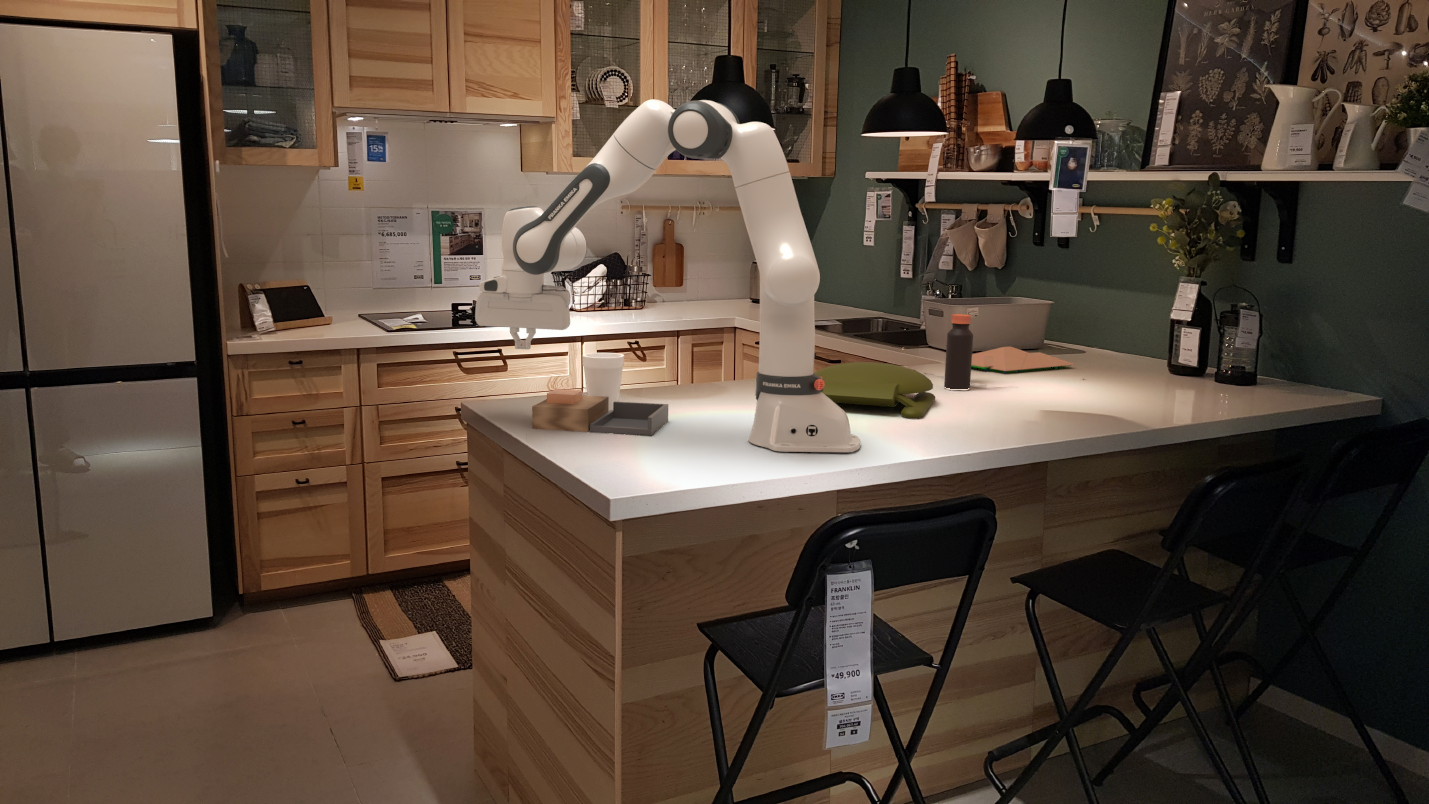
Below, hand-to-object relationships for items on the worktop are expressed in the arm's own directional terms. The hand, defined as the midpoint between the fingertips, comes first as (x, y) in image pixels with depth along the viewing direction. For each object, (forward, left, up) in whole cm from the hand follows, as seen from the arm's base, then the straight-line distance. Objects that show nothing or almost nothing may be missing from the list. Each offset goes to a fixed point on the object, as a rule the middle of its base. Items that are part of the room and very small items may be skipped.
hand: (522, 348), depth 231 cm
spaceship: (-73, -46, -17) cm, 87 cm away
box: (-24, 0, -16) cm, 29 cm away
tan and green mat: (-112, -112, -17) cm, 159 cm away
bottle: (-95, -73, -16) cm, 121 cm away
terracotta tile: (-9, 0, -11) cm, 14 cm away
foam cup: (-13, -16, -16) cm, 27 cm away
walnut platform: (-11, 0, -16) cm, 19 cm away
